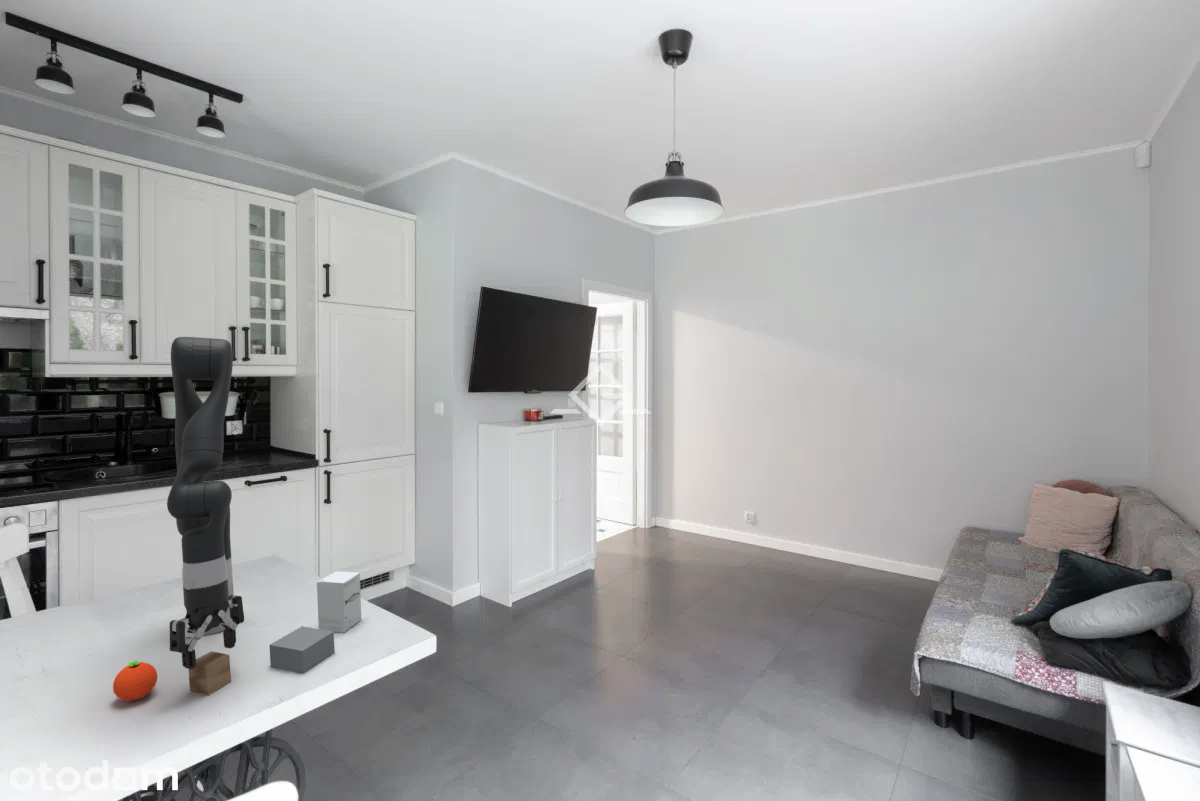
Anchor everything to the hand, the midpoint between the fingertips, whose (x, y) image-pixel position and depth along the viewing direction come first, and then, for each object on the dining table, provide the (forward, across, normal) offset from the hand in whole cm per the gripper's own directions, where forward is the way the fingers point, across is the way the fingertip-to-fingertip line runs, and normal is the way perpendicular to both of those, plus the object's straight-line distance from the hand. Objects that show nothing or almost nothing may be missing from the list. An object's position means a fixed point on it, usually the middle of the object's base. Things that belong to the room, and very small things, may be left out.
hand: (210, 657), depth 118 cm
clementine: (+6, +7, -12) cm, 15 cm away
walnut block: (+6, 0, -1) cm, 6 cm away
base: (+6, -14, +10) cm, 18 cm away
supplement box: (+6, -30, +6) cm, 31 cm away
